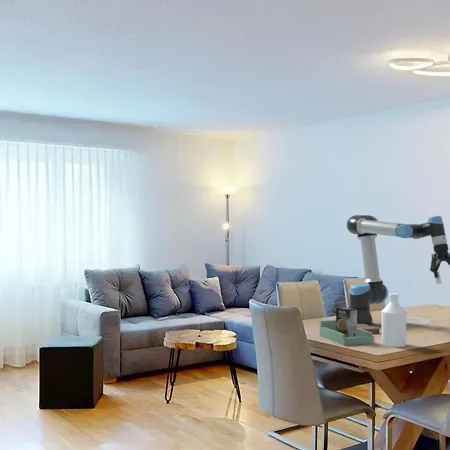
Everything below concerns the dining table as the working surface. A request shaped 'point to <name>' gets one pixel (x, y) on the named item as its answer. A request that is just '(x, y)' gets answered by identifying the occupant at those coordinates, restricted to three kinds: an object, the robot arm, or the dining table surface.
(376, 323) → the dining table surface
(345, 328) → the coffee box
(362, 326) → the board
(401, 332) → the bottle
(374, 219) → the robot arm
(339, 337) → the frame
